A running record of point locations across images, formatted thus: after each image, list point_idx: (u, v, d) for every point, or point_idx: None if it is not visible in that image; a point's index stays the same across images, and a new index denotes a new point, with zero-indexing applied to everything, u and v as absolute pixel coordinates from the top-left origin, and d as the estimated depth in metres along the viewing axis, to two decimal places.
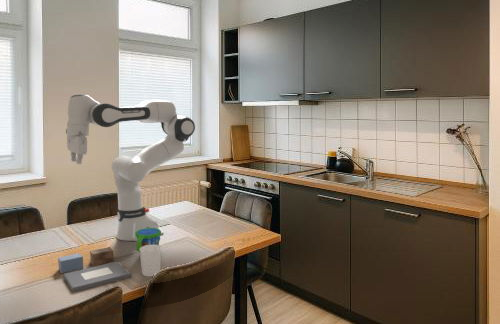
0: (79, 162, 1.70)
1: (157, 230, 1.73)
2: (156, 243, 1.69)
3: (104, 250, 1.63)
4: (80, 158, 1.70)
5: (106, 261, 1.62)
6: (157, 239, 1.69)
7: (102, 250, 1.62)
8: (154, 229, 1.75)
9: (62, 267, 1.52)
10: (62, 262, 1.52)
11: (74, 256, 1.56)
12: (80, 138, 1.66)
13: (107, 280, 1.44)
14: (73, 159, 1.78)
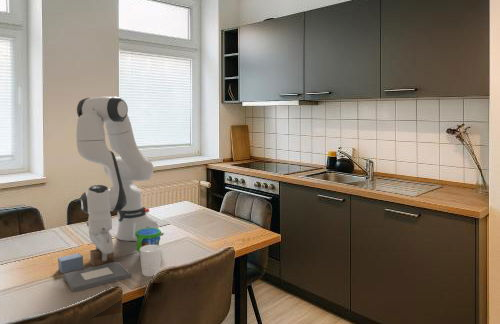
0: (104, 259, 1.60)
1: (157, 230, 1.73)
2: (156, 243, 1.69)
3: None
4: (105, 255, 1.59)
5: (106, 261, 1.62)
6: (157, 239, 1.69)
7: None
8: (154, 229, 1.75)
9: (62, 267, 1.52)
10: (62, 262, 1.52)
11: (74, 256, 1.56)
12: (105, 237, 1.54)
13: (107, 280, 1.44)
14: None
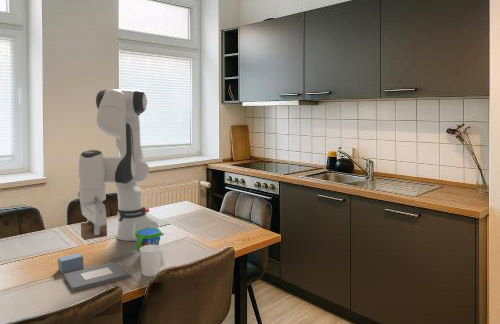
0: (97, 232, 1.43)
1: (157, 230, 1.73)
2: (156, 243, 1.69)
3: None
4: (97, 228, 1.42)
5: (98, 235, 1.45)
6: (157, 239, 1.69)
7: None
8: (154, 229, 1.75)
9: (63, 267, 1.52)
10: (63, 262, 1.52)
11: (74, 256, 1.56)
12: (97, 207, 1.37)
13: (107, 280, 1.44)
14: None
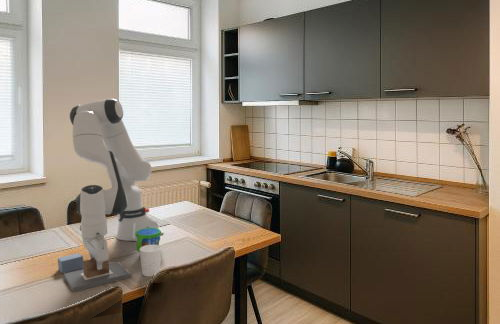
0: (99, 267, 1.44)
1: (157, 230, 1.73)
2: (156, 243, 1.69)
3: None
4: (100, 263, 1.44)
5: (101, 272, 1.47)
6: (157, 239, 1.69)
7: None
8: (154, 229, 1.75)
9: (63, 267, 1.52)
10: (63, 262, 1.52)
11: (74, 256, 1.56)
12: (99, 243, 1.39)
13: (107, 280, 1.44)
14: None
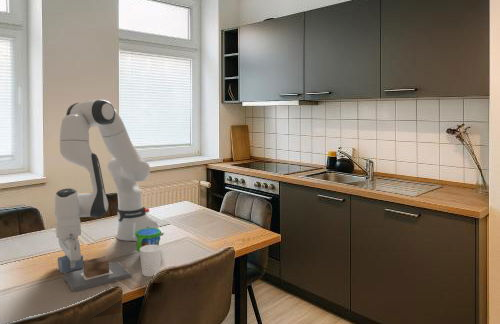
0: (73, 266, 1.53)
1: (157, 230, 1.73)
2: (156, 243, 1.69)
3: (98, 260, 1.48)
4: (73, 262, 1.52)
5: (101, 272, 1.47)
6: (157, 239, 1.69)
7: (97, 260, 1.47)
8: (154, 229, 1.75)
9: (63, 267, 1.52)
10: (63, 262, 1.52)
11: None
12: (71, 244, 1.47)
13: (107, 280, 1.44)
14: None
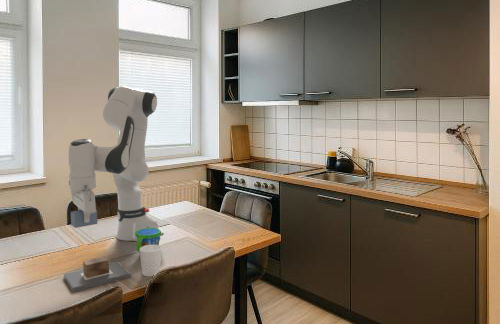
0: (87, 220, 1.45)
1: (157, 230, 1.73)
2: (156, 243, 1.69)
3: (98, 260, 1.48)
4: (87, 216, 1.44)
5: (101, 272, 1.47)
6: (157, 239, 1.69)
7: (97, 260, 1.47)
8: (154, 229, 1.75)
9: (76, 221, 1.44)
10: (76, 215, 1.43)
11: None
12: (86, 195, 1.38)
13: (107, 280, 1.44)
14: None
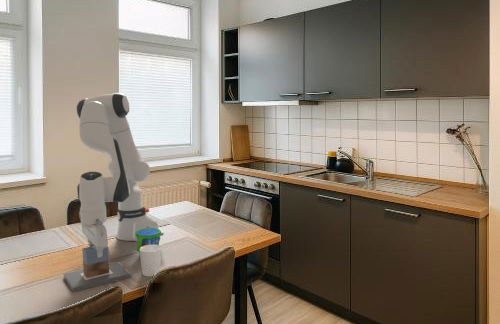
0: (99, 255, 1.43)
1: (157, 230, 1.73)
2: (156, 243, 1.69)
3: None
4: (100, 250, 1.42)
5: (101, 272, 1.47)
6: (157, 239, 1.69)
7: None
8: (154, 229, 1.75)
9: (88, 258, 1.43)
10: (88, 253, 1.43)
11: None
12: (98, 230, 1.38)
13: (107, 280, 1.44)
14: None
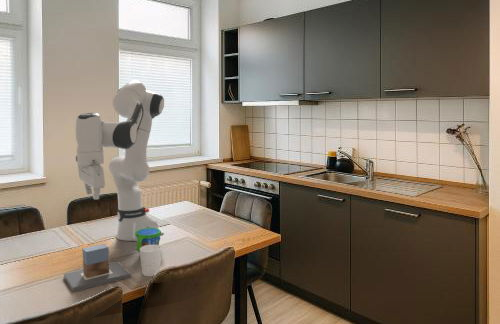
0: (96, 197, 1.40)
1: (157, 230, 1.73)
2: (156, 243, 1.69)
3: None
4: (97, 192, 1.39)
5: (101, 272, 1.47)
6: (157, 239, 1.69)
7: None
8: (154, 229, 1.75)
9: (88, 258, 1.43)
10: (88, 253, 1.43)
11: (99, 247, 1.48)
12: (95, 169, 1.35)
13: (107, 280, 1.44)
14: (88, 192, 1.47)
